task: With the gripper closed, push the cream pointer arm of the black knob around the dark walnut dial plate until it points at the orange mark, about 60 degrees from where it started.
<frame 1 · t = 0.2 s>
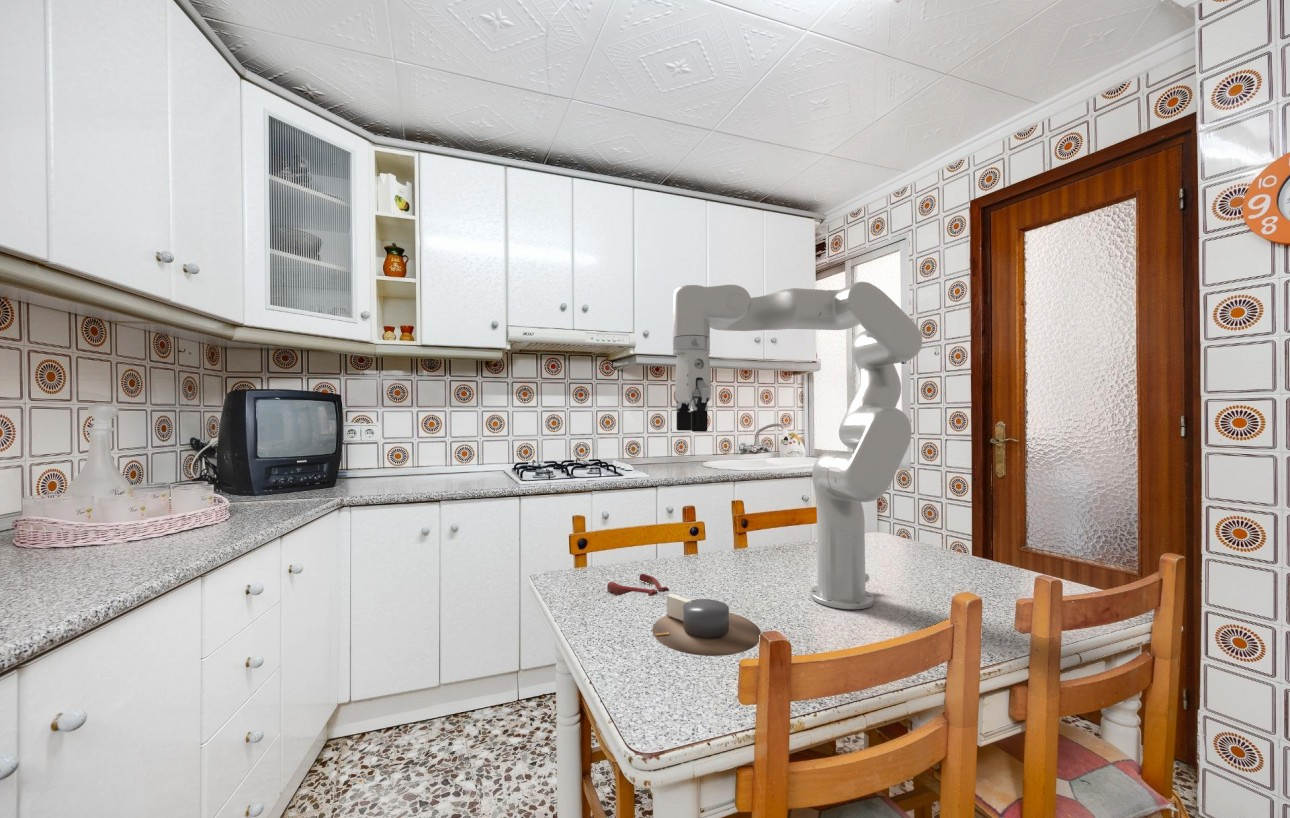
hand: (691, 430, 102), 36 cm above the table, tool pointing down, fingers open, 9 cm apart
pliers: (643, 600, 109), on the table
dial knob: (695, 613, 90), point 4 cm above the table, hinge at 0.0°
dial plate: (706, 638, 88), on the table
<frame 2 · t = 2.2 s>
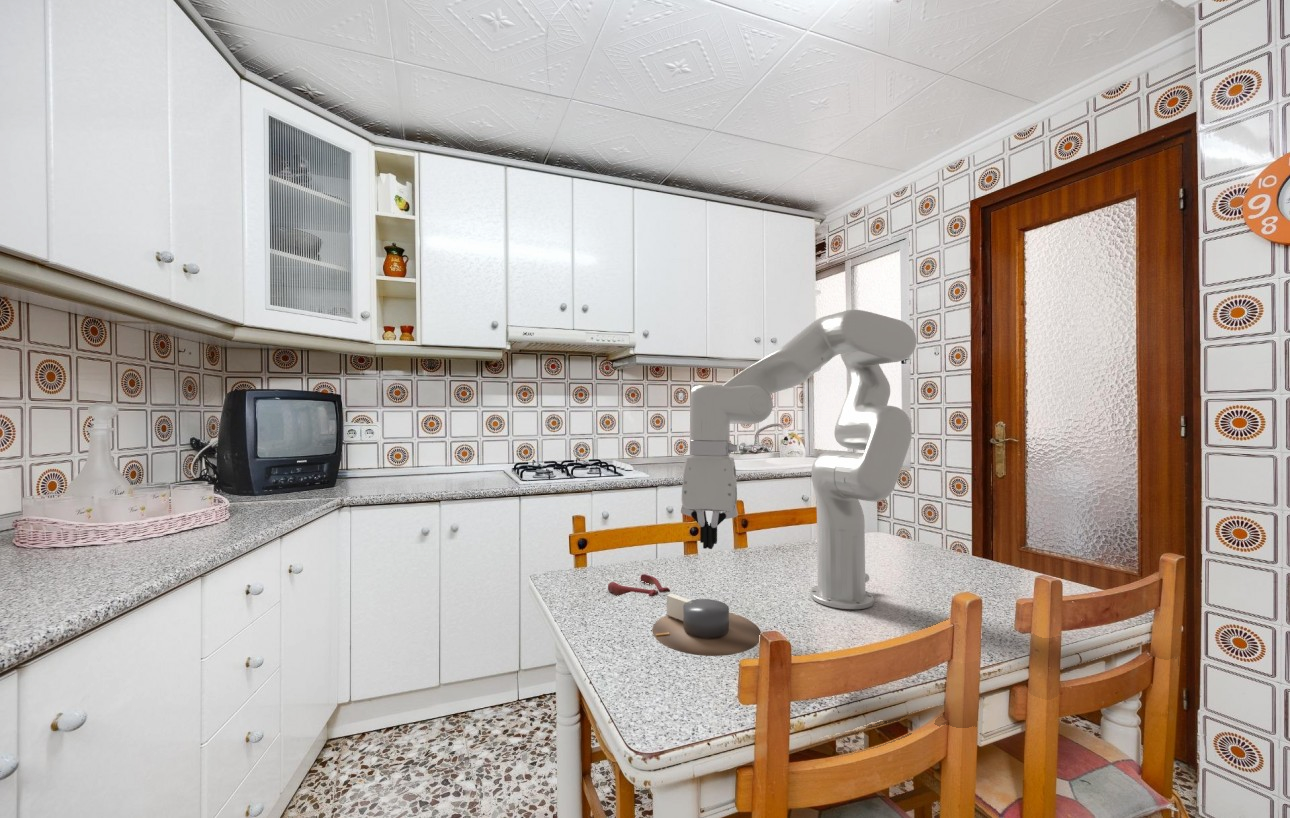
hand: (708, 546, 94), 15 cm above the table, tool pointing down, fingers closed
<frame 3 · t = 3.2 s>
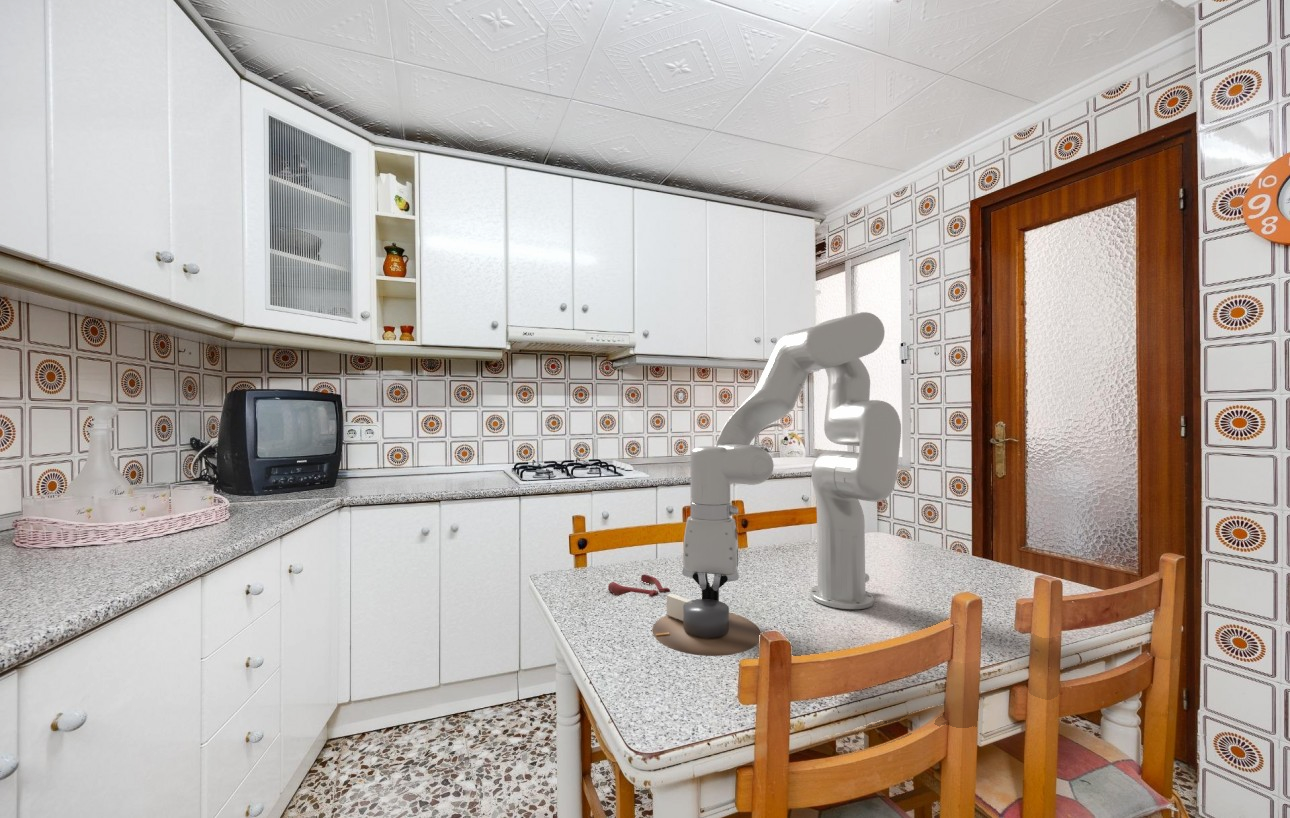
hand: (710, 609, 94), 3 cm above the table, tool pointing down, fingers closed
nothing on the table moved.
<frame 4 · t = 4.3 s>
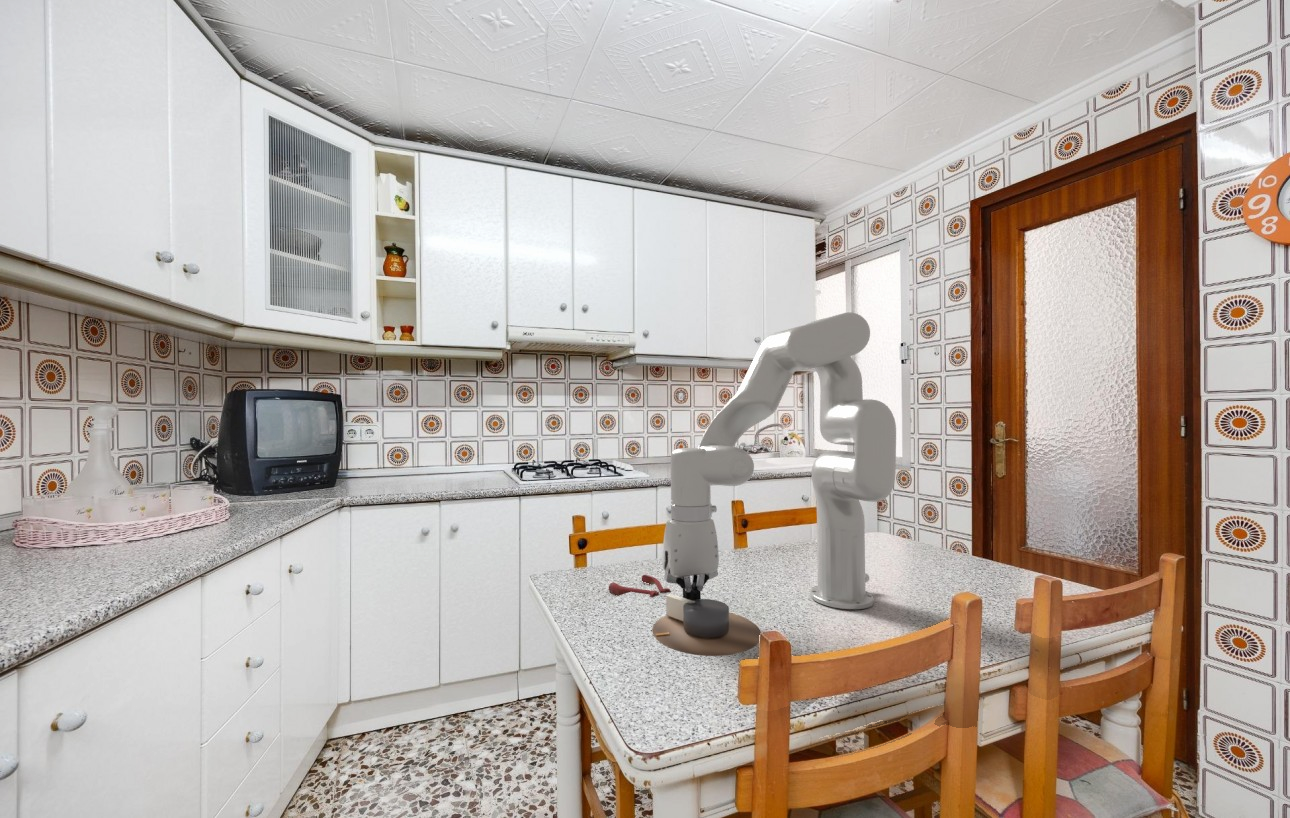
hand: (691, 610, 94), 3 cm above the table, tool pointing down, fingers closed
dial knob: (695, 613, 90), point 4 cm above the table, hinge at 0.9°, touching gripper
everything else where it was.
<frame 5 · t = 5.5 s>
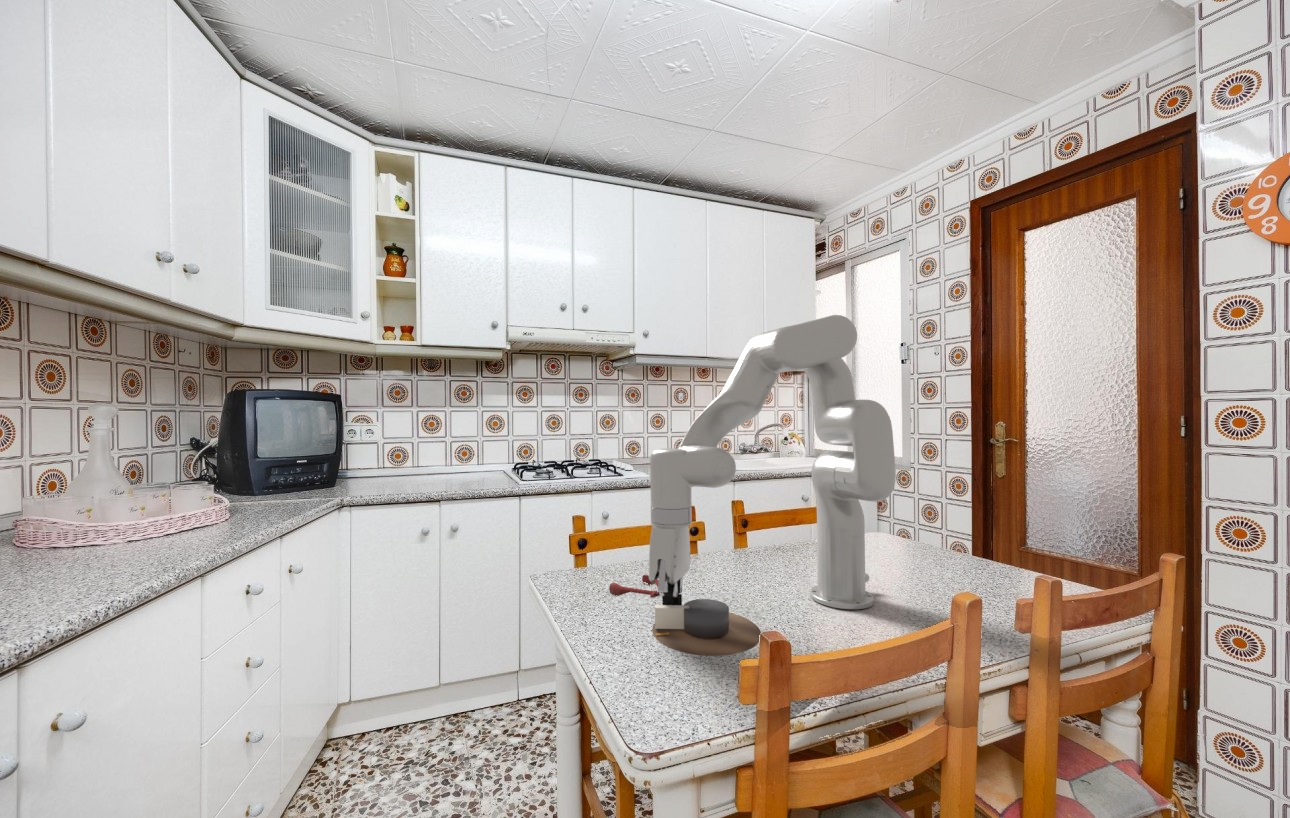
hand: (672, 616, 91), 3 cm above the table, tool pointing down, fingers closed
dial knob: (691, 617, 88), point 4 cm above the table, hinge at 43.4°, touching gripper
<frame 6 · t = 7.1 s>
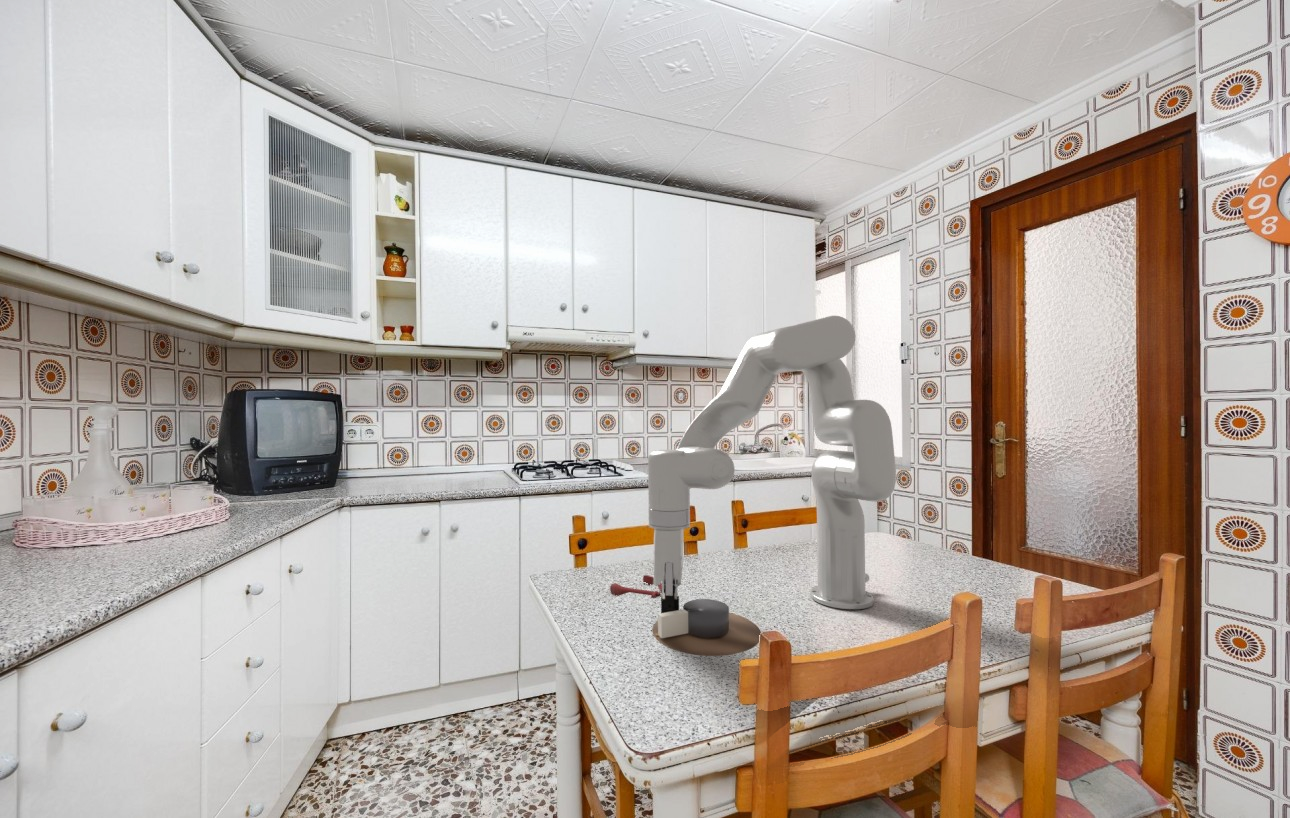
hand: (670, 619, 90), 2 cm above the table, tool pointing down, fingers closed
dial knob: (693, 619, 87), point 4 cm above the table, hinge at 69.4°
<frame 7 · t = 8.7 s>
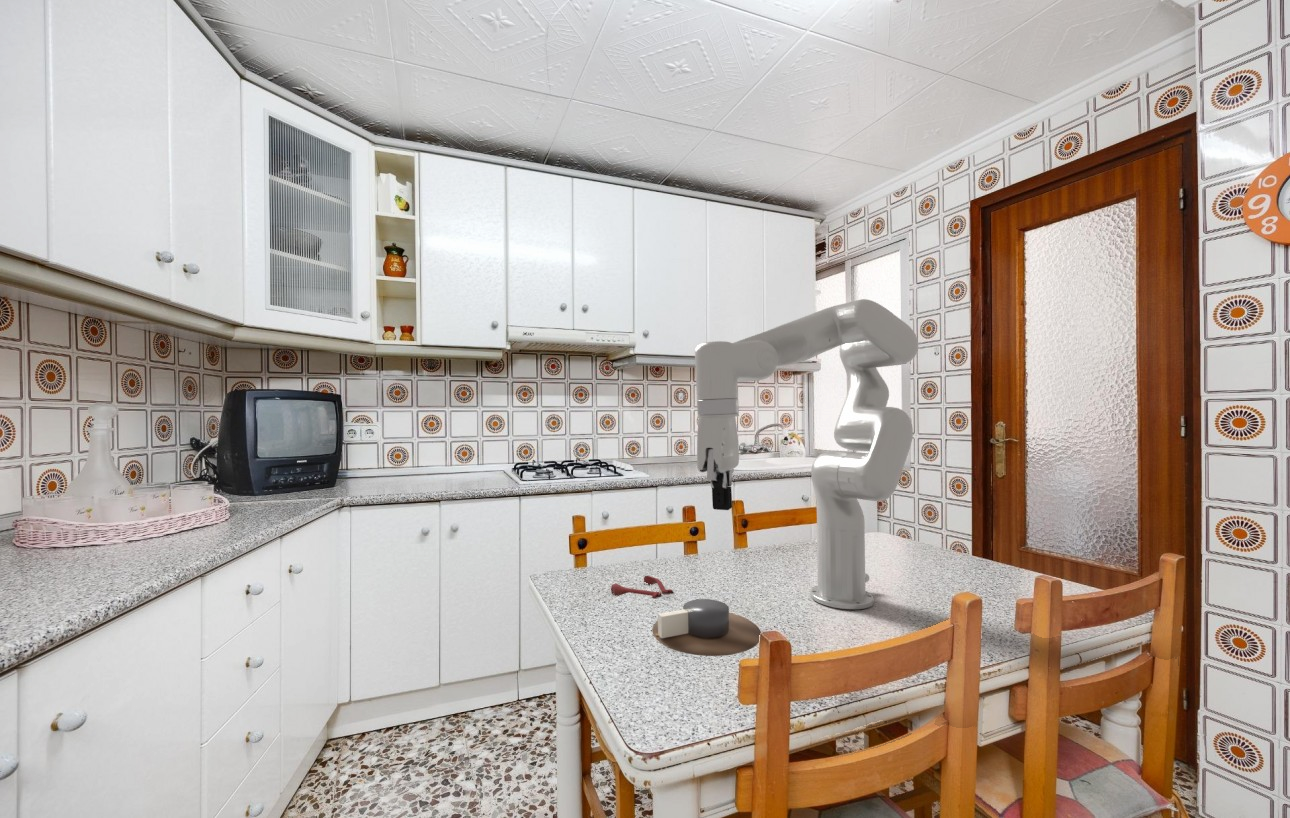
hand: (722, 508, 92), 22 cm above the table, tool pointing down, fingers closed
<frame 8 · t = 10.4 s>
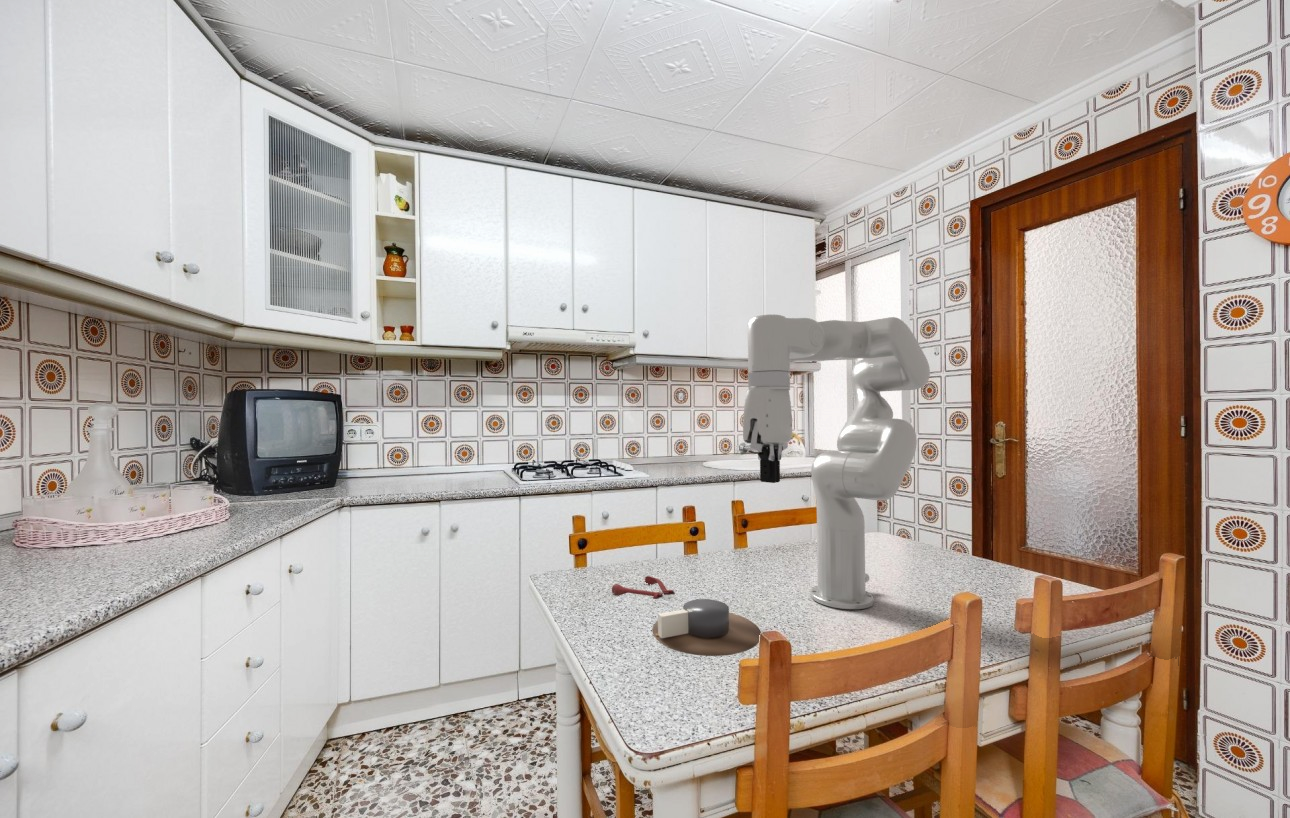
hand: (770, 481, 92), 27 cm above the table, tool pointing down, fingers closed
at the end: dial knob at +69° (first picture: +0°); pliers moved 2.3 cm from its start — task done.
